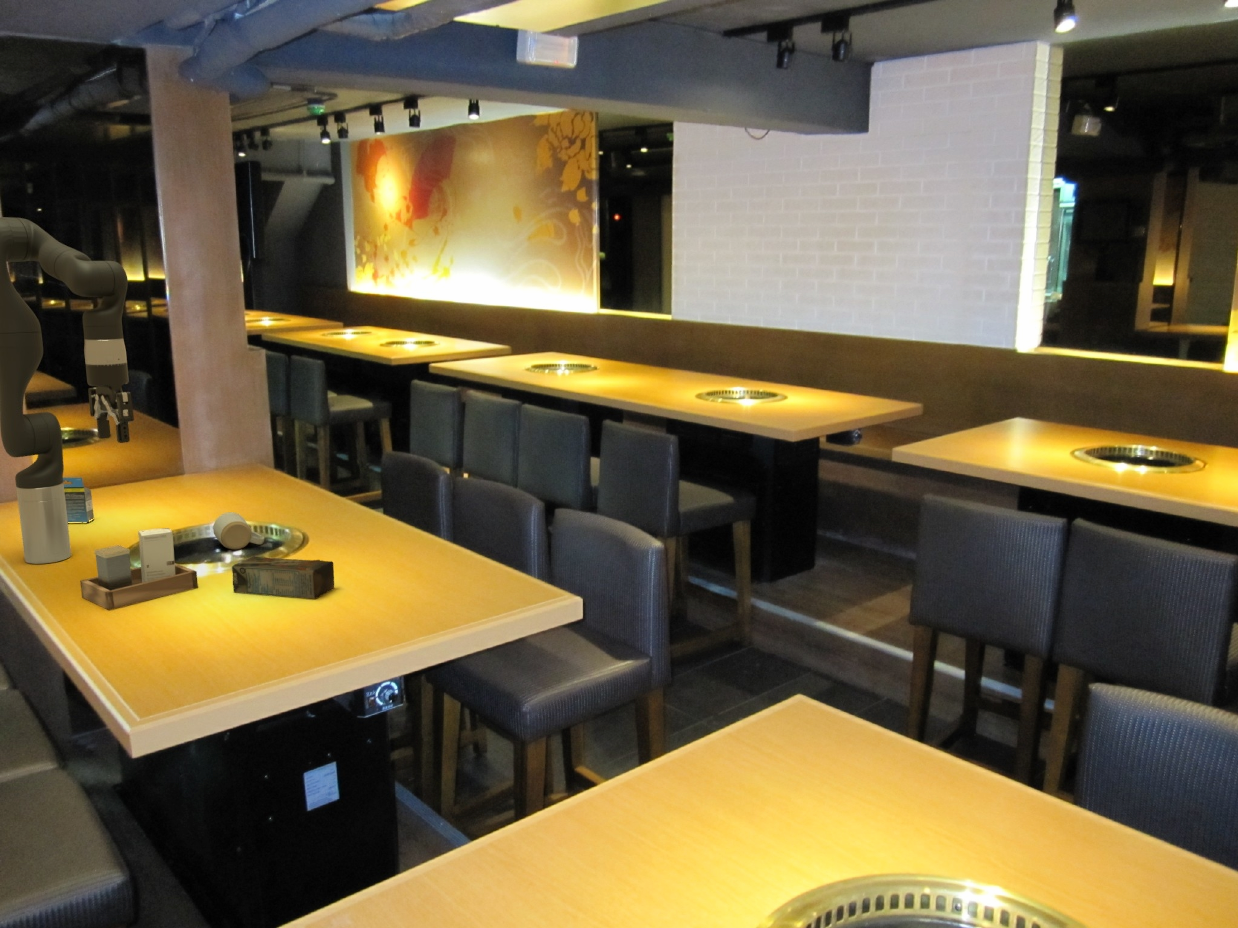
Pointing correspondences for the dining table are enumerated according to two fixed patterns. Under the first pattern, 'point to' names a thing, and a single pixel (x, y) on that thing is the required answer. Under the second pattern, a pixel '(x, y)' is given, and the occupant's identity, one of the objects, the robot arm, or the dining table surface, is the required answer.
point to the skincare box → (156, 554)
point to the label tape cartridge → (78, 500)
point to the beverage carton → (283, 577)
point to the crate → (139, 588)
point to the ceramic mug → (234, 531)
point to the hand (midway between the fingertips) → (114, 440)
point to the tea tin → (113, 567)
